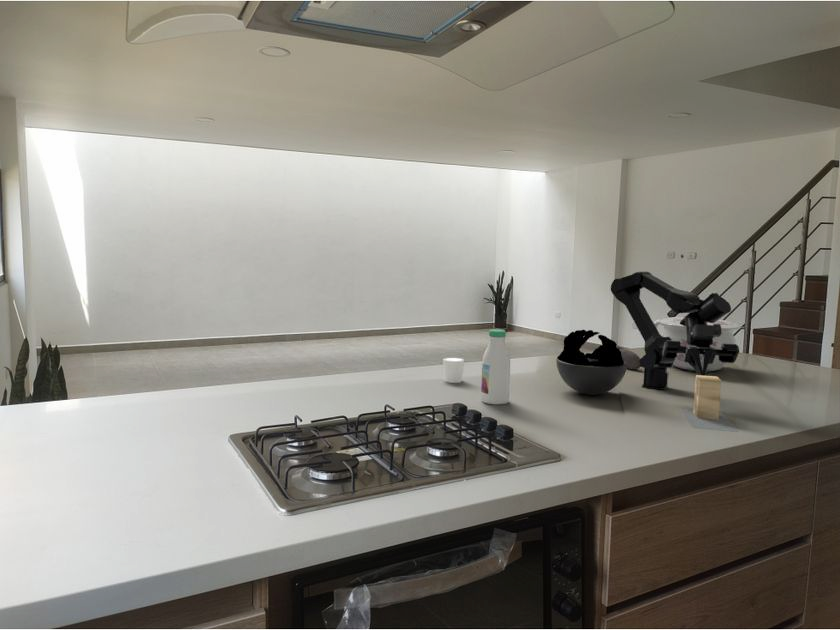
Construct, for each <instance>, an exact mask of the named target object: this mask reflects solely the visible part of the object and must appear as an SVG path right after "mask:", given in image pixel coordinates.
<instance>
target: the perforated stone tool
mask: <svg viewBox="0 0 840 630" xmlns="http://www.w3.org/2000/svg"><path fill="white" fill-rule="evenodd" d="M616 347H617V348H619V350H620V351H621V355H622V358H623V361H625V362H627V369H626V370H633V371H634V370H635V371H636V370H639V369H640V368H641V367H640V363H639V360H640V359H641V357H640V356H639V355H638V354H637V353H635V352H633V351H631V350H630V349H627V348H623V347H621V346H619V347H618V346H616Z"/></svg>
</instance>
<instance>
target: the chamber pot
mask: <svg viewBox="0 0 840 630" xmlns="http://www.w3.org/2000/svg"><path fill="white" fill-rule="evenodd" d="M684 317H685V316H673V317H672V316H671V317H665V318H658V319H657V320H655V321H653V323H654V325H655V327H656V328H657V329H658V326H659V325H661V326H663V331H662V333H661V336H662V337H670V338H671V340H672V341H680V344H681V345H680V346H685V347H687V345H688V344H687V334H686V326H683V325H681V324H680V322H681V320H682V319H683V318H684ZM713 324H720V325H721V332H722V333H721V335H720V336H719V337H714V338H713V344H712V345H710V347H715V348H721V345H722V343H728V344H736V338H735V336H734V334H733V333H734V331H735V330H739V329H741V328H742V326H741V325H740V324H738V323H735V322H733V321H729V320H725V319H719V320H718V321H716V322H715V323H709V322H707V325H713ZM685 357H686V356H685V354H678V353H677V358H676V359H675V361H674V362H673V365H672V367H673V366H674V367H675V368H678V369H681V370H685V371H690V372H696V371H695V369H694V368H693V367H692V366H691V365H690V364H689V363H687V362H685V361H684V360H685ZM702 358H703V356H702V355H700V361H701V360H702ZM726 365H727V363H723V362H721V361H719V359H718V355H716V356H715V359H714V361H713V363H712V364H708V366H707V370H706V373H710V372H714V371H720V370H721V369H723V368H724V367H725V366H726Z"/></svg>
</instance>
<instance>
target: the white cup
mask: <svg viewBox="0 0 840 630" xmlns="http://www.w3.org/2000/svg"><path fill="white" fill-rule="evenodd" d="M442 364H443V378H444V379H443V380H444V382H445V383H449V384H450V383H451V384H452V383H453V384H454V383H455V384H459V383H462V382H463V377H464V369H465V358H462V357H461V358H460V357H445V358H443V359H442Z"/></svg>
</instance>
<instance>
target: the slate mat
mask: <svg viewBox="0 0 840 630" xmlns="http://www.w3.org/2000/svg"><path fill="white" fill-rule="evenodd" d="M681 411H682V412H683V414H684V416H685V418H686V419H687V420H688V422H689V423H690V425H691V426H692V428H693V429H703V430H715V431H725V432H735V433H737V432H738V433H740V431H739V430H738V428H736V426H735V425H734V424H733V423H732V422H731V420H730V419H729V418H728V417H727V416H726V415H725V414H724V413H723V412H722V411H719V418H718V419H707V418H697V417H696V416H695V414H694V413H693V409H686V408H681Z"/></svg>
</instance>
